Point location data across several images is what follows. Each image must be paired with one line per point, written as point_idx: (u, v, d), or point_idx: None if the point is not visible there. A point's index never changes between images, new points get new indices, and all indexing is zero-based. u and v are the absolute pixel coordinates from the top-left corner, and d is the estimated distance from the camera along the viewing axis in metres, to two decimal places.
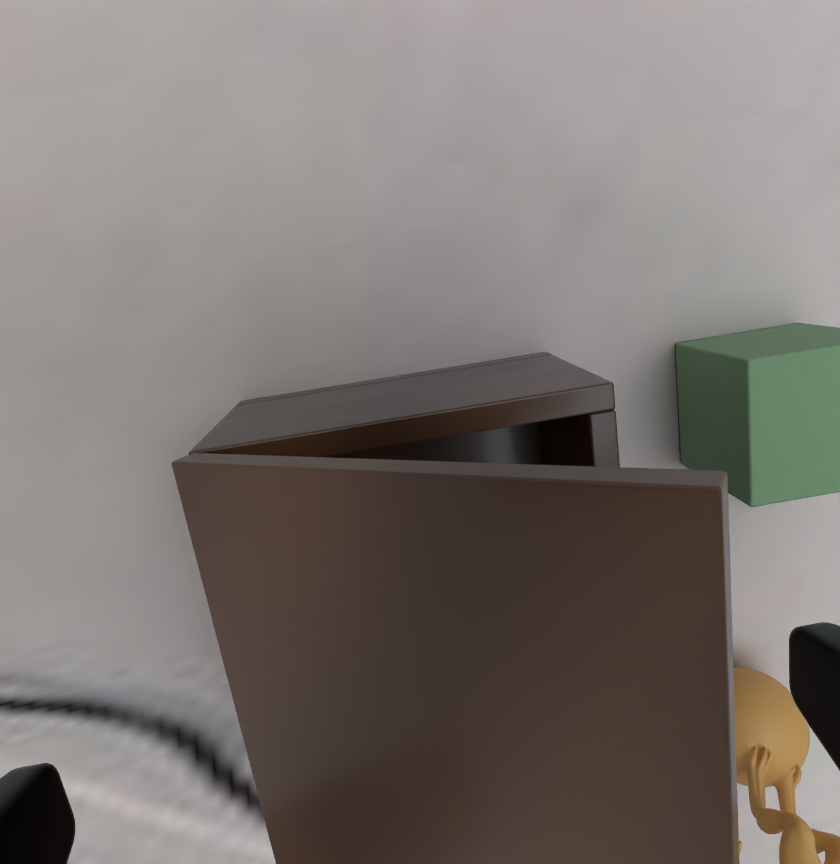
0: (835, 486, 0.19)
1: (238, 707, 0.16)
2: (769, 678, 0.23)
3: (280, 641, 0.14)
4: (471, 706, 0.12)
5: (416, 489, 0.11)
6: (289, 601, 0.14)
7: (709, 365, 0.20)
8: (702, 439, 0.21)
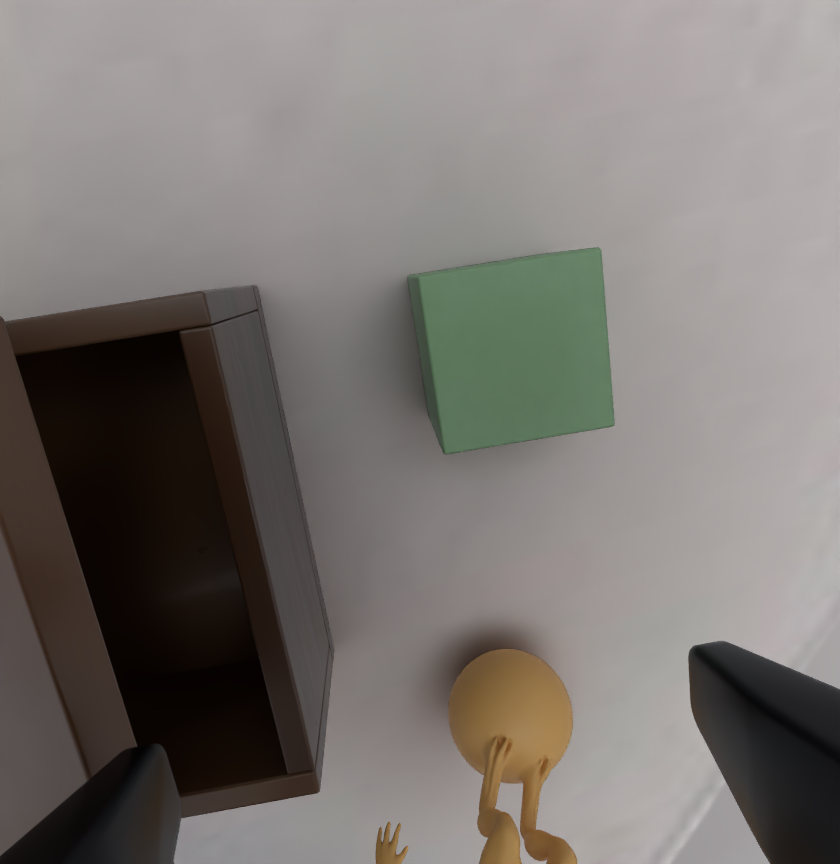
0: (543, 429, 0.16)
1: None
2: (532, 660, 0.20)
3: None
4: None
5: None
6: None
7: (414, 293, 0.17)
8: (426, 383, 0.18)
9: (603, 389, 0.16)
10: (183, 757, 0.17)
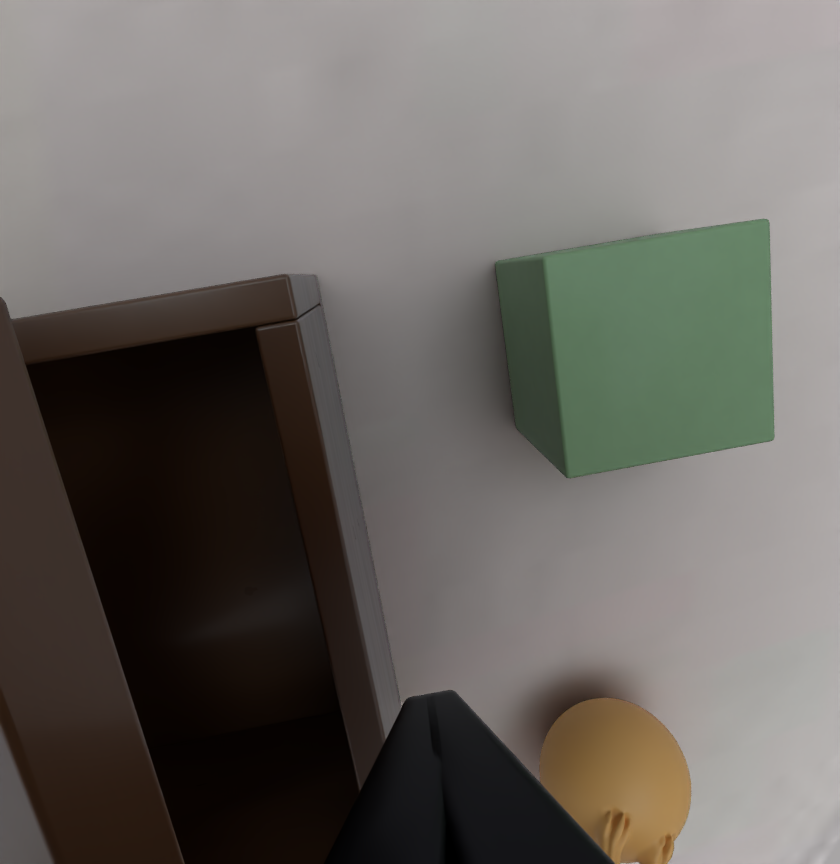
0: (688, 446, 0.13)
1: None
2: (640, 713, 0.17)
3: None
4: None
5: None
6: None
7: (518, 280, 0.14)
8: (525, 389, 0.15)
9: (763, 395, 0.13)
10: (242, 855, 0.14)
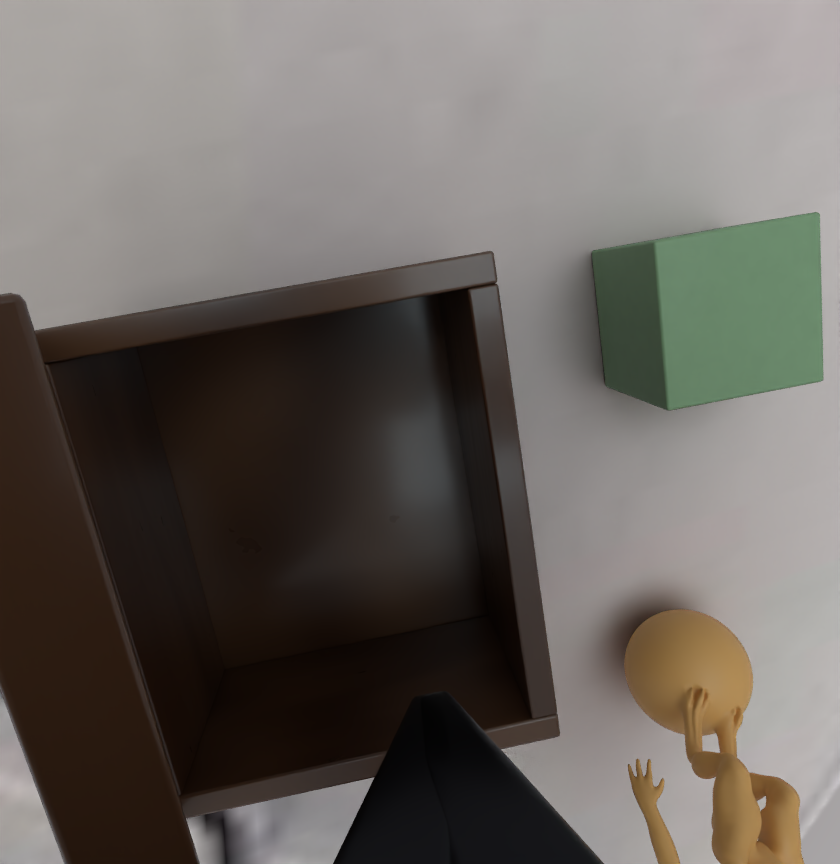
0: (758, 385, 0.17)
1: None
2: (709, 617, 0.21)
3: None
4: None
5: None
6: None
7: (621, 262, 0.18)
8: (621, 350, 0.19)
9: (815, 345, 0.17)
10: None
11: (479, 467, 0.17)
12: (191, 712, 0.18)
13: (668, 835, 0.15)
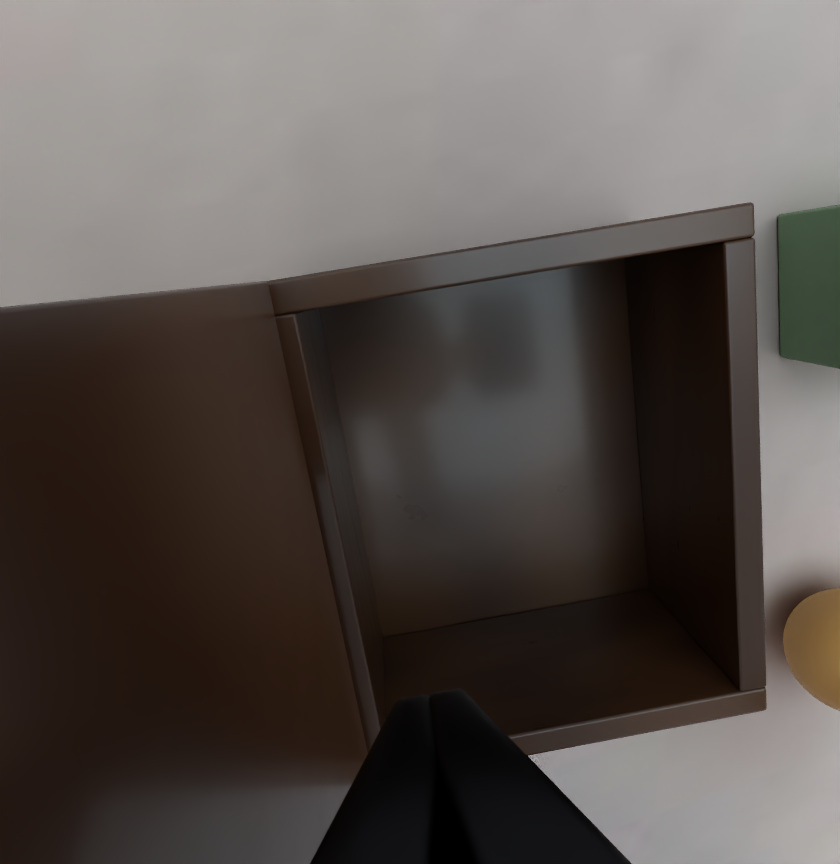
0: None
1: None
2: None
3: None
4: None
5: None
6: None
7: (829, 224, 0.17)
8: (814, 317, 0.19)
9: None
10: (607, 681, 0.17)
11: (683, 433, 0.17)
12: (379, 677, 0.17)
13: None
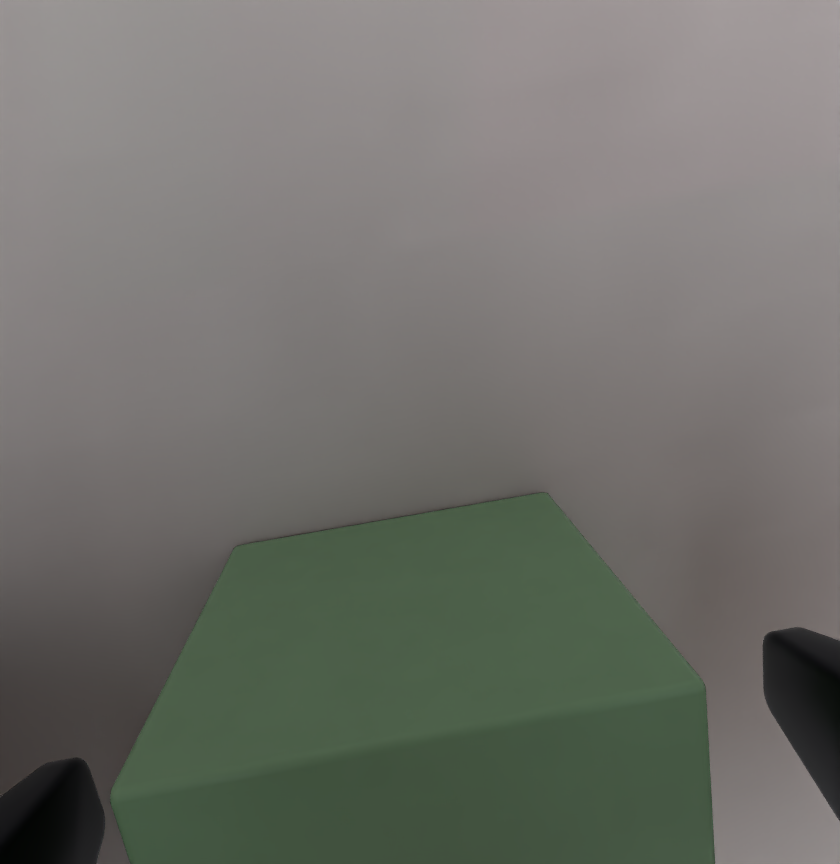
0: None
1: None
2: None
3: None
4: None
5: None
6: None
7: None
8: None
9: None
10: None
11: None
12: None
13: None
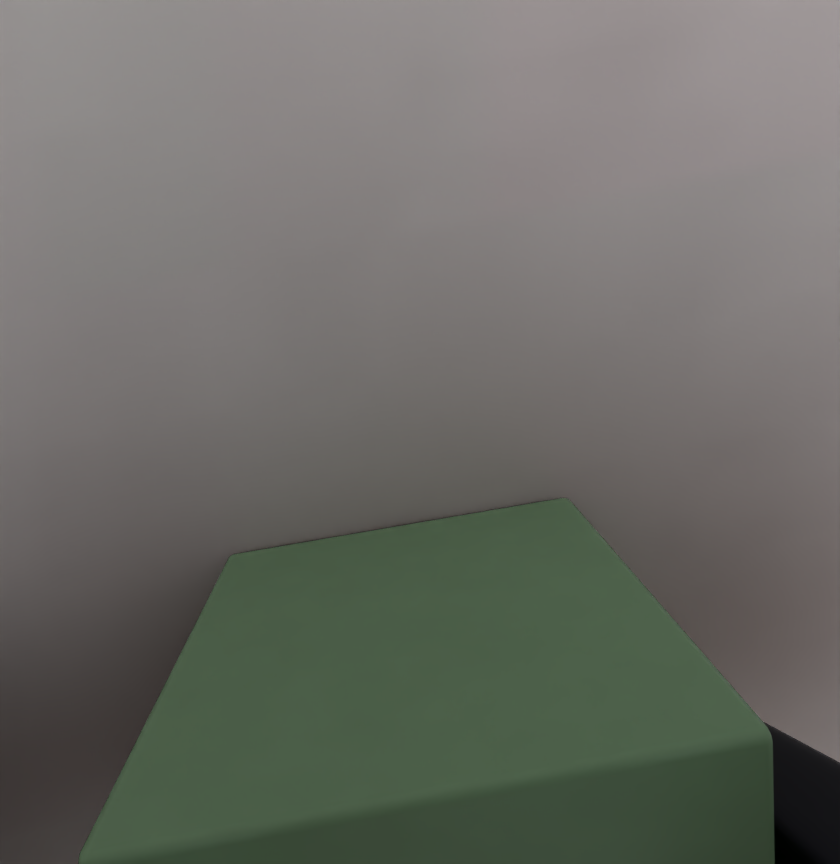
0: None
1: None
2: None
3: None
4: None
5: None
6: None
7: None
8: None
9: None
10: None
11: None
12: None
13: None
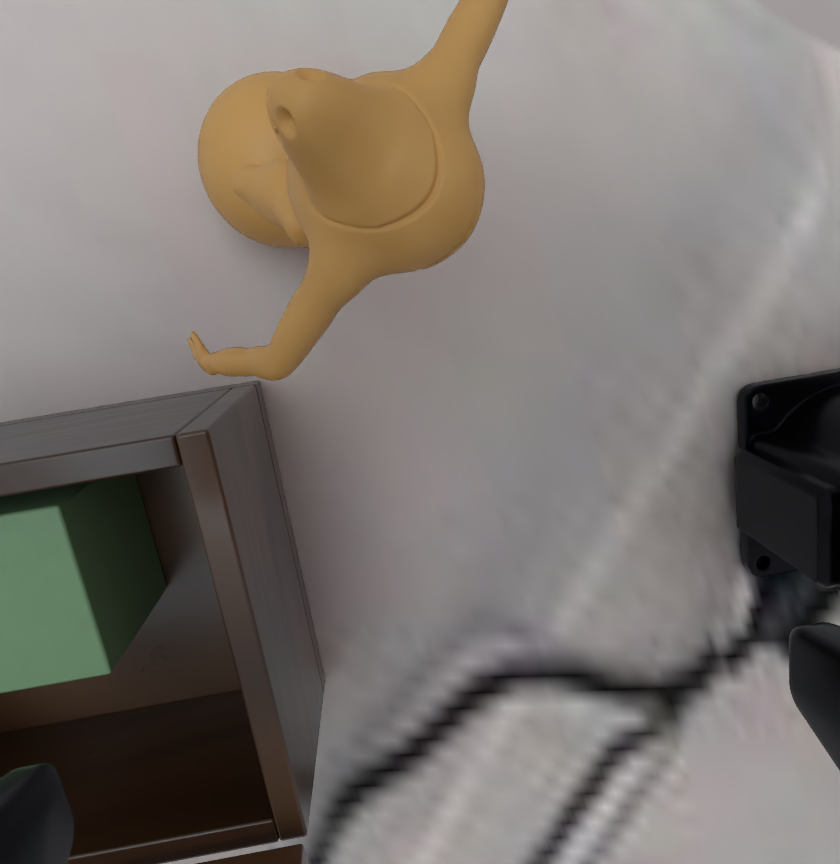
0: (31, 680, 0.15)
1: None
2: None
3: None
4: None
5: None
6: None
7: None
8: None
9: (89, 640, 0.15)
10: None
11: None
12: (248, 766, 0.17)
13: (218, 355, 0.10)
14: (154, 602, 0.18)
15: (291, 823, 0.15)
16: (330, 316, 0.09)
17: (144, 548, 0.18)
